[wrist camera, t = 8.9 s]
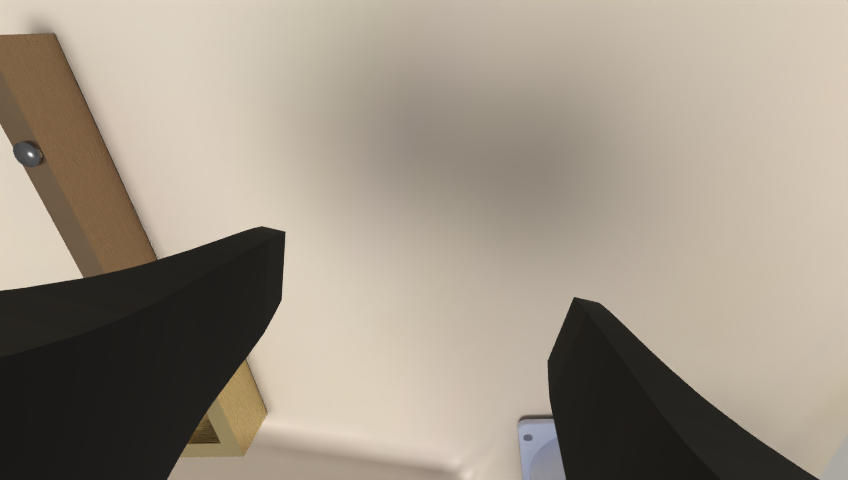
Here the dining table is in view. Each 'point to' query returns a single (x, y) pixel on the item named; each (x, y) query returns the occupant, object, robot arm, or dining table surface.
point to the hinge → (97, 205)
